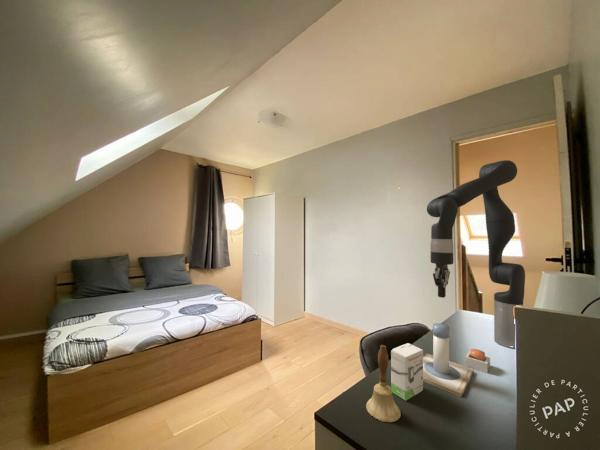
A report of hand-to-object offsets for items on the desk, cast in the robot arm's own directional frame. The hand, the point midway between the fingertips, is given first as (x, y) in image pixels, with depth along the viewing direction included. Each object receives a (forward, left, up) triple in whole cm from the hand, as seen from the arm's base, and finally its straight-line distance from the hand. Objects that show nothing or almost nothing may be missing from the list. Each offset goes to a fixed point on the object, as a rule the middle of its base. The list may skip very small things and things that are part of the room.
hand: (441, 296), depth 91 cm
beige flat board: (+7, +14, -21) cm, 26 cm away
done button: (-8, +8, -18) cm, 21 cm away
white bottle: (+7, +13, -20) cm, 25 cm away
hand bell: (+31, +31, -21) cm, 48 cm away
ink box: (+22, +23, -21) cm, 38 cm away
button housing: (-8, +8, -21) cm, 24 cm away
